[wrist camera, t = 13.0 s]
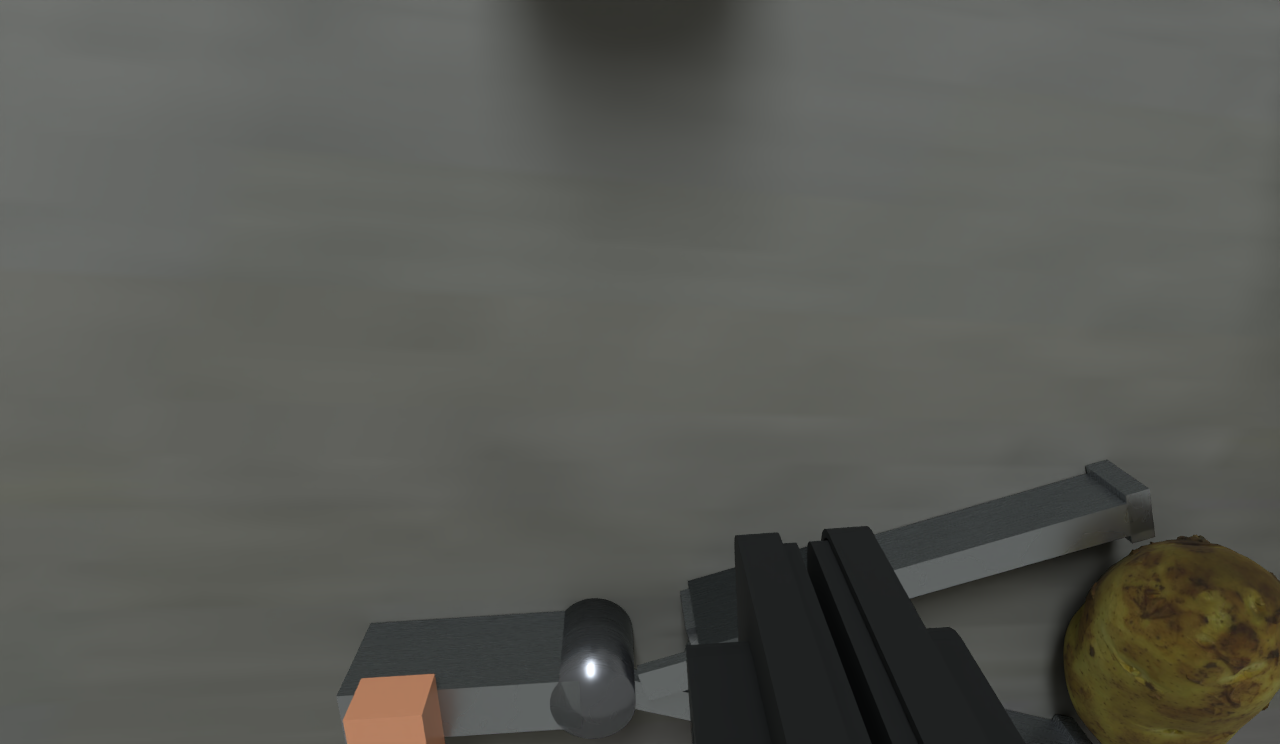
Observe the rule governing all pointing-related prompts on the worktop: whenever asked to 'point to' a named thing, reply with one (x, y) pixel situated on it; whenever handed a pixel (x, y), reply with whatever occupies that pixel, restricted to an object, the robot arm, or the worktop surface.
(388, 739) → the tab
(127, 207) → the worktop surface
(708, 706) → the robot arm
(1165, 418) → the worktop surface
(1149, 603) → the potato
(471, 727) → the tongs fixed
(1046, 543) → the tongs jaw
